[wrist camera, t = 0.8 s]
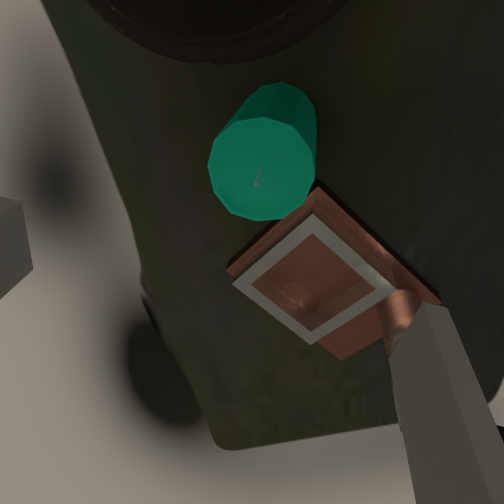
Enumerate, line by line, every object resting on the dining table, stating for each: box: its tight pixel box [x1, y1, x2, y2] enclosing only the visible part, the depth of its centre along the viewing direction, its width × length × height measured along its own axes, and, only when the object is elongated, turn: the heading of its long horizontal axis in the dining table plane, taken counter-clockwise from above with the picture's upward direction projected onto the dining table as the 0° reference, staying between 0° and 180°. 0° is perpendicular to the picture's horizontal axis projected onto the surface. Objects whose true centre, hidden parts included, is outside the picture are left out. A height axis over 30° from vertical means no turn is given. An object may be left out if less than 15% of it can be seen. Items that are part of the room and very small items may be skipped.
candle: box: [207, 82, 317, 221], centre depth 24 cm, size 6×6×12 cm
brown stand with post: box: [226, 180, 442, 433], centre depth 31 cm, size 12×16×14 cm
